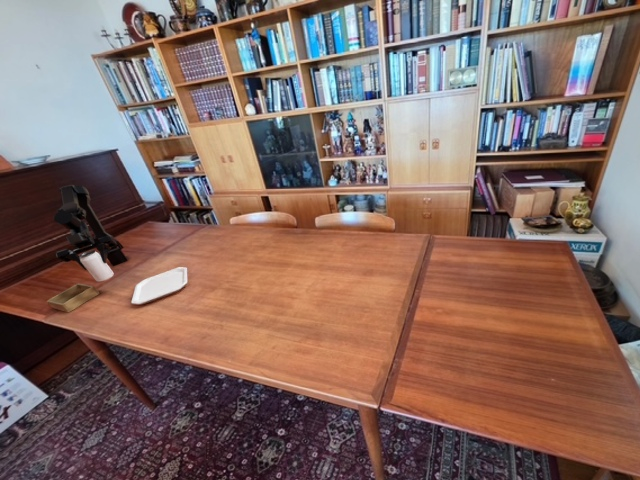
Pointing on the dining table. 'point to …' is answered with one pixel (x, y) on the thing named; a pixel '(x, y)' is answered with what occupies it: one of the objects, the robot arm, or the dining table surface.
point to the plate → (160, 286)
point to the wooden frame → (73, 297)
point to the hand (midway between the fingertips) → (95, 266)
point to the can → (96, 266)
